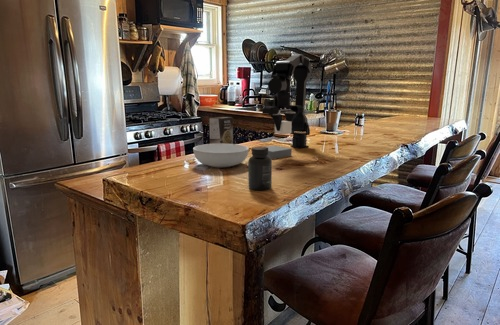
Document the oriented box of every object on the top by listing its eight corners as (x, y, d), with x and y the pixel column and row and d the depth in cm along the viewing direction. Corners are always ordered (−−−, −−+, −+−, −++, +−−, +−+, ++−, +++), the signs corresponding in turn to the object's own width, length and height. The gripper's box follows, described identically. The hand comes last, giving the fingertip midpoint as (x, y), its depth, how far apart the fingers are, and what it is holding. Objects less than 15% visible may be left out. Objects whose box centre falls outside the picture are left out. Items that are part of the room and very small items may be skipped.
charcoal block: (274, 153, 163) (274, 145, 163) (291, 156, 155) (291, 148, 154) (255, 155, 157) (255, 148, 156) (272, 160, 148) (272, 151, 147)
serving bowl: (242, 173, 125) (242, 153, 124) (185, 170, 129) (184, 151, 128) (253, 160, 145) (253, 143, 144) (204, 158, 149) (203, 142, 148)
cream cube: (283, 132, 156) (283, 120, 155) (291, 133, 152) (291, 121, 151) (274, 133, 152) (274, 121, 151) (282, 134, 149) (283, 122, 148)
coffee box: (221, 156, 153) (220, 118, 150) (209, 155, 156) (208, 117, 153) (233, 153, 161) (233, 116, 157) (222, 151, 164) (221, 116, 160)
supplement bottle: (271, 184, 110) (271, 146, 108) (271, 191, 104) (272, 150, 101) (248, 184, 111) (248, 146, 108) (247, 191, 104) (247, 150, 101)
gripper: (285, 91, 160) (285, 126, 164) (253, 92, 149) (253, 130, 152) (304, 92, 152) (303, 129, 155) (271, 93, 140) (271, 133, 144)
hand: (282, 130), depth 152 cm, fingers closed on cream cube, 5 cm apart
